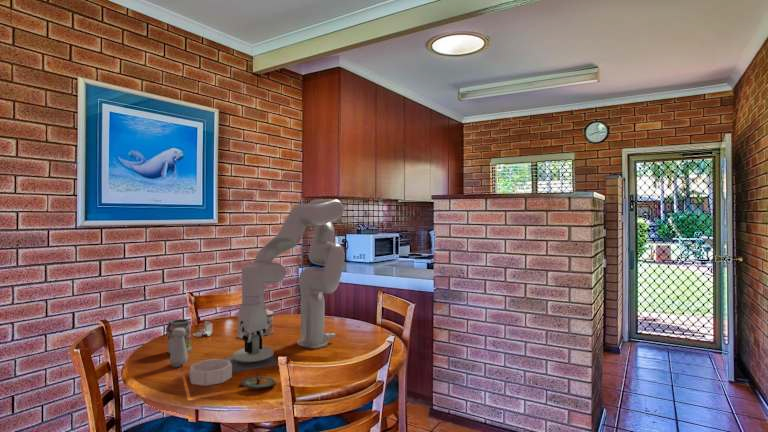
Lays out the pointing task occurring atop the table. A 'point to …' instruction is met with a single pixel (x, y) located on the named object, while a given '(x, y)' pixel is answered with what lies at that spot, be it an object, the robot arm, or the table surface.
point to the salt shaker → (178, 348)
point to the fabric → (205, 330)
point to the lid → (250, 382)
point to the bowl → (210, 372)
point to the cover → (253, 352)
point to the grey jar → (179, 324)
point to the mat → (251, 364)
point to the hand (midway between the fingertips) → (253, 349)
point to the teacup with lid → (269, 323)
